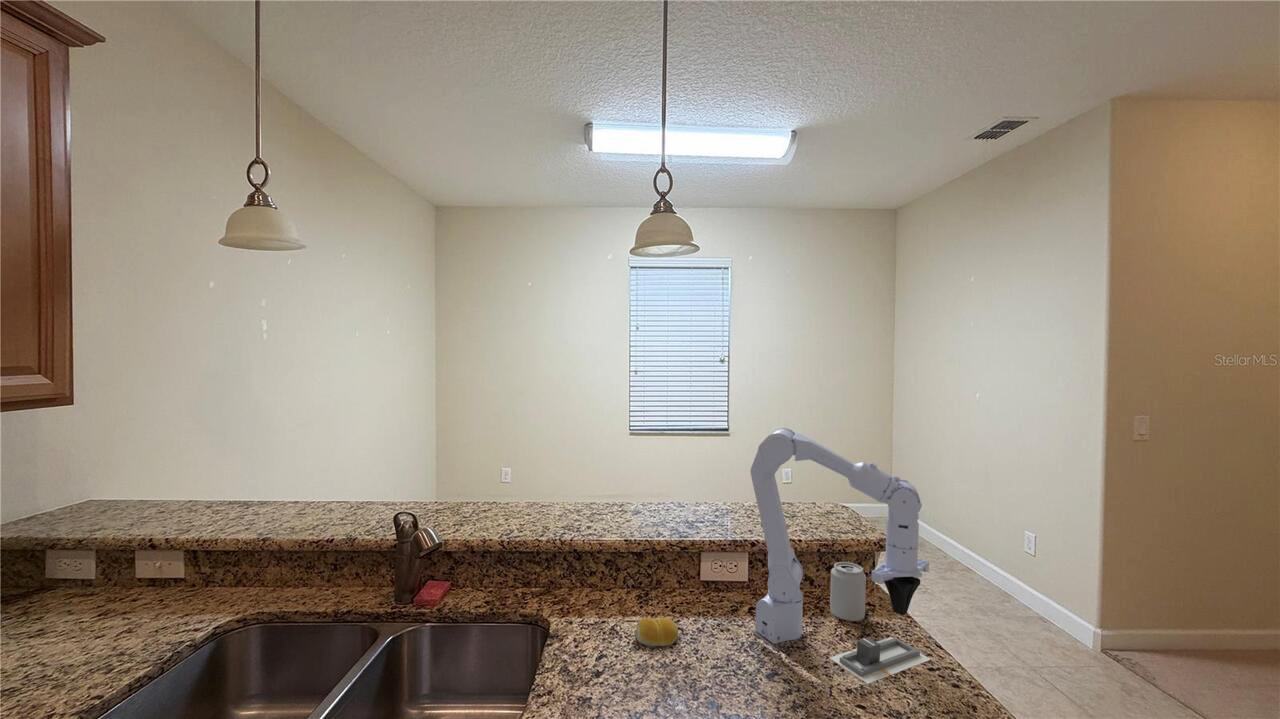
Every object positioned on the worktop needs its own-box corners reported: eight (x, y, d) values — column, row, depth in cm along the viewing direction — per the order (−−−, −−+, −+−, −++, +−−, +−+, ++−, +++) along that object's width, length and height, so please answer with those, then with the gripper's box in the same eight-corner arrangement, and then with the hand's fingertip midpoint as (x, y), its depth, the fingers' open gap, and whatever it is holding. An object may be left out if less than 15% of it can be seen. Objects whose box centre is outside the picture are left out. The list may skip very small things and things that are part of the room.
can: (858, 611, 126) (860, 560, 126) (869, 627, 119) (870, 574, 118) (826, 609, 127) (827, 558, 127) (834, 625, 119) (836, 571, 119)
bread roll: (682, 647, 109) (682, 627, 109) (639, 649, 108) (639, 630, 108) (673, 626, 118) (673, 608, 118) (632, 628, 116) (633, 610, 116)
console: (867, 690, 96) (867, 678, 96) (829, 663, 104) (829, 652, 104) (931, 665, 104) (931, 654, 104) (890, 642, 112) (891, 632, 112)
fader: (868, 668, 101) (869, 647, 101) (856, 660, 103) (857, 640, 103) (879, 664, 102) (880, 643, 102) (867, 657, 105) (867, 636, 105)
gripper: (895, 557, 98) (892, 630, 98) (944, 545, 105) (942, 613, 105) (863, 544, 104) (861, 613, 105) (911, 534, 111) (909, 598, 111)
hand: (899, 612), depth 105 cm, fingers closed
